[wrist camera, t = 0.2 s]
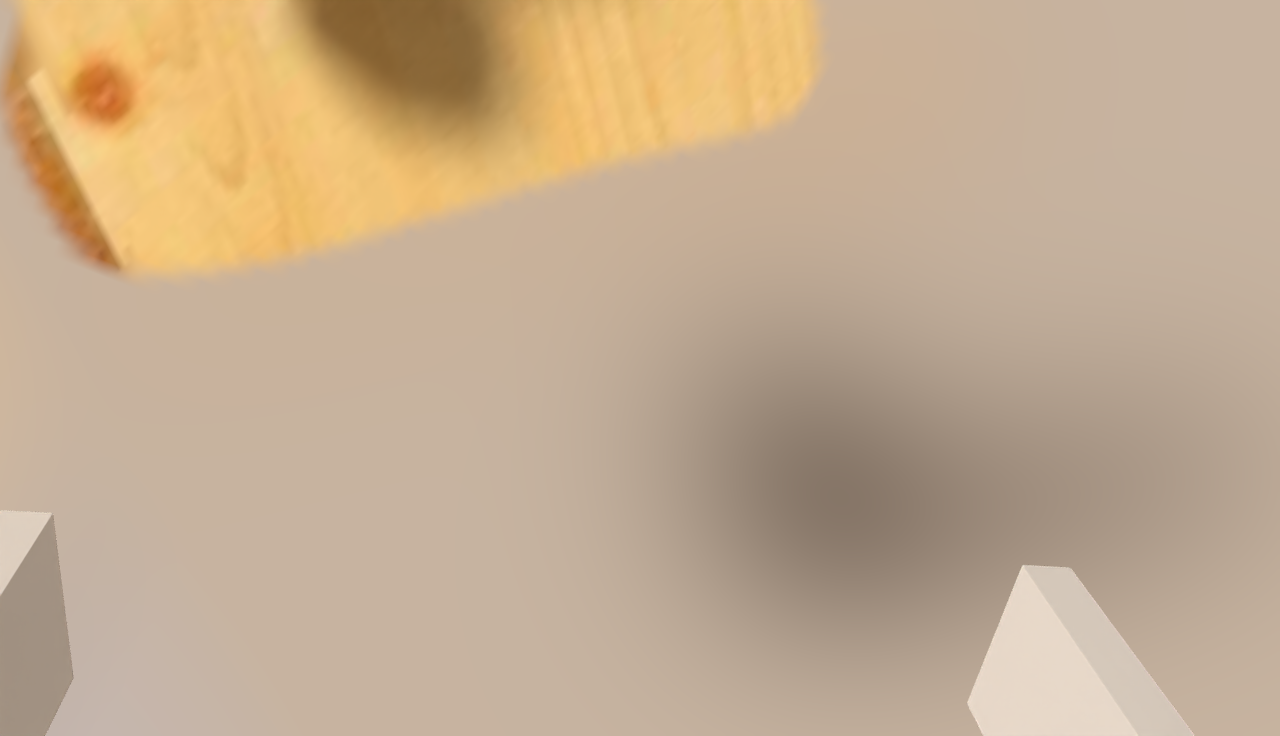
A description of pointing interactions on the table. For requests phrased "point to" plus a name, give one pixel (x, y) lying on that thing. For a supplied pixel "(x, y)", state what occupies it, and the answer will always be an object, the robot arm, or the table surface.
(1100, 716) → the robot arm
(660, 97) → the table surface
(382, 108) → the table surface
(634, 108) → the table surface
